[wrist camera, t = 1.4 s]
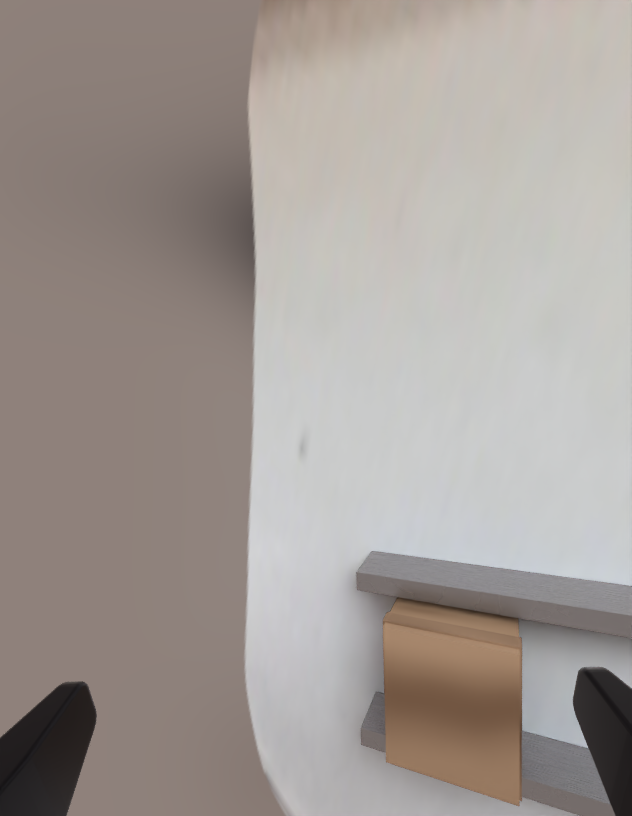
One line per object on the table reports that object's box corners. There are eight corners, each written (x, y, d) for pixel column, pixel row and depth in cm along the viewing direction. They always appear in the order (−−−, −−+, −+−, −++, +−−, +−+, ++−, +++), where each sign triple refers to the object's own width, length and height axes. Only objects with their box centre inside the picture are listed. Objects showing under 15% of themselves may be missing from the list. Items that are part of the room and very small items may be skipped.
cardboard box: (519, 724, 24) (521, 809, 19) (406, 694, 26) (384, 763, 22) (519, 597, 23) (522, 653, 19) (403, 579, 26) (380, 624, 21)
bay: (802, 827, 19) (850, 902, 17) (376, 706, 27) (361, 744, 25) (814, 610, 19) (866, 652, 16) (372, 551, 27) (356, 572, 24)
